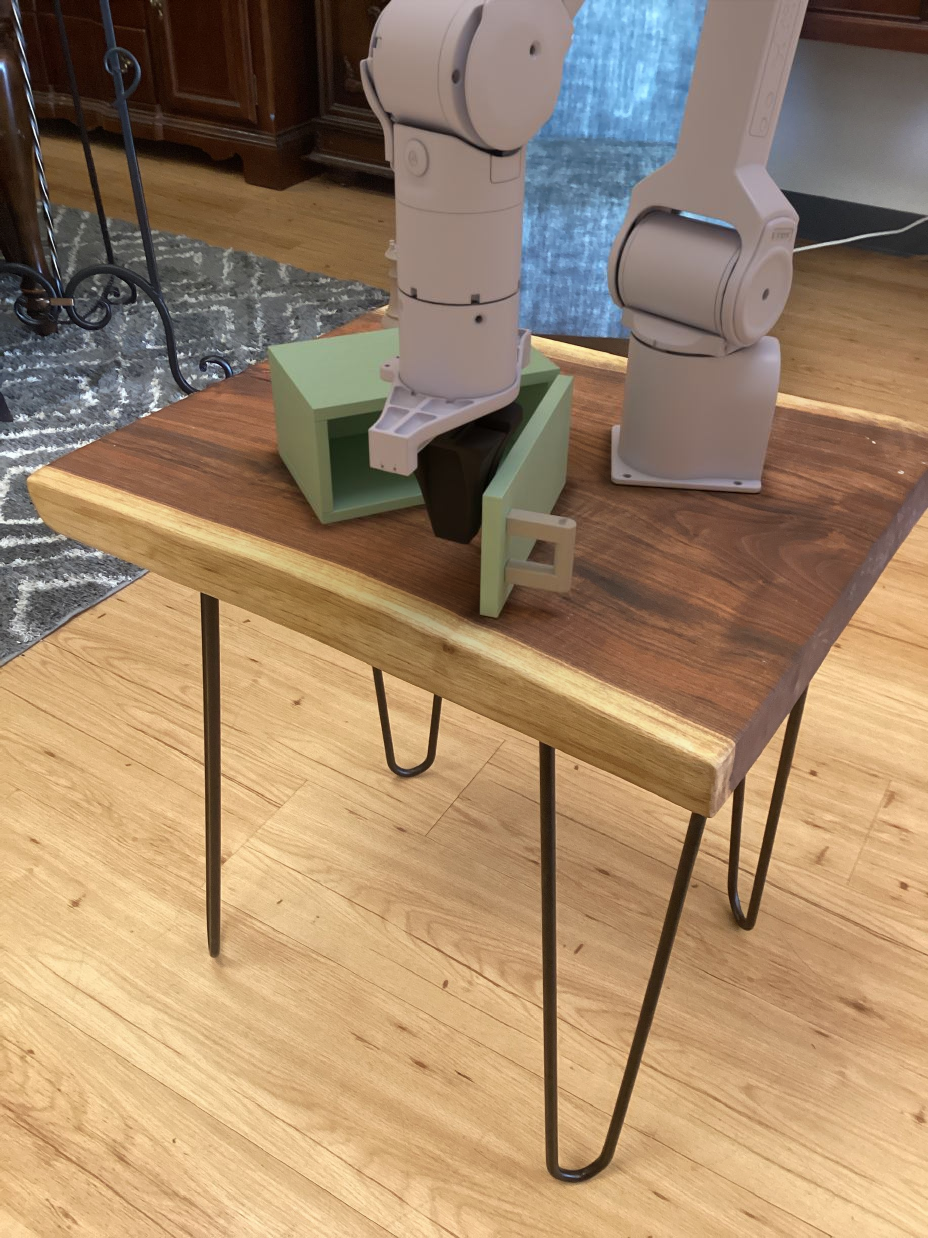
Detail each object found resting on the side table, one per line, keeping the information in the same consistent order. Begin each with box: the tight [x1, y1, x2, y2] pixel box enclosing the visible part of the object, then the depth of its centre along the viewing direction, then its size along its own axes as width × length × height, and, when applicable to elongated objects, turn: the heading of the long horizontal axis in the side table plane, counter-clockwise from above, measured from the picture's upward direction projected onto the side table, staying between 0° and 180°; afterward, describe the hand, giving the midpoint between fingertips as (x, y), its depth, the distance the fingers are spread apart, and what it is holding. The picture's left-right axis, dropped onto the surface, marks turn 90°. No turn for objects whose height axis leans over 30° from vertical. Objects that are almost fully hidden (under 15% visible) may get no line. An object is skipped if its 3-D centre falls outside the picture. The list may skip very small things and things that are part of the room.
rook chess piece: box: [380, 237, 399, 330], centre depth 85 cm, size 4×4×8 cm
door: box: [479, 374, 577, 619], centre depth 59 cm, size 4×16×7 cm, turn 162°
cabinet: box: [267, 327, 561, 525], centre depth 67 cm, size 10×16×8 cm, turn 113°
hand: (456, 534), depth 56 cm, fingers closed, pressing on door
